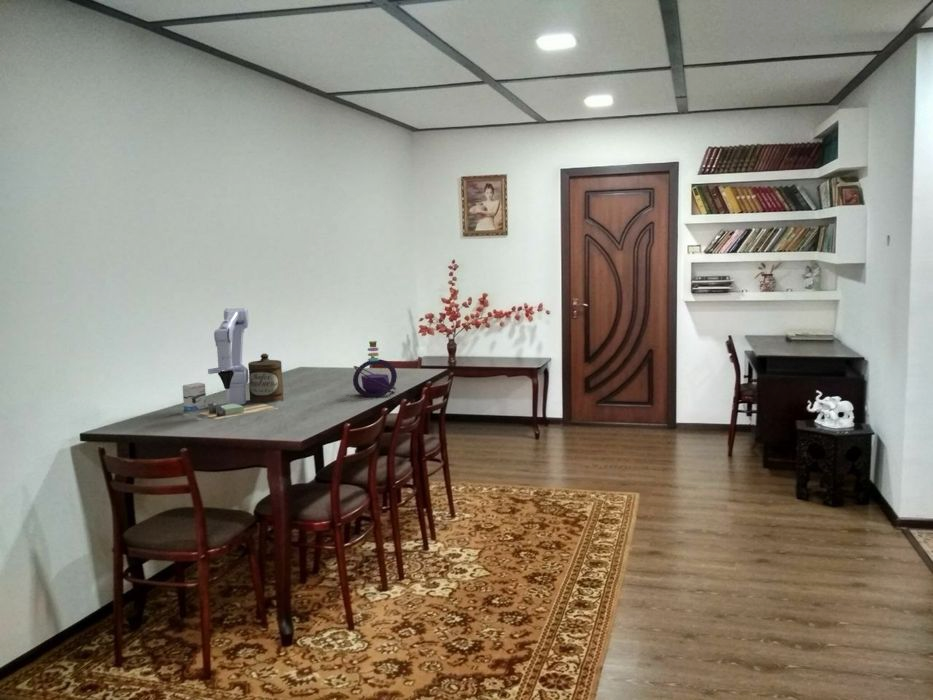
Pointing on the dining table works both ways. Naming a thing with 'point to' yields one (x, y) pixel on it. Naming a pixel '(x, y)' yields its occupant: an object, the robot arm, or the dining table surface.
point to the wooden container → (265, 380)
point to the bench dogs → (216, 409)
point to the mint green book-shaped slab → (233, 409)
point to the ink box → (194, 396)
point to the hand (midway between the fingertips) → (227, 388)
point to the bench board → (247, 410)
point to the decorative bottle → (374, 377)
